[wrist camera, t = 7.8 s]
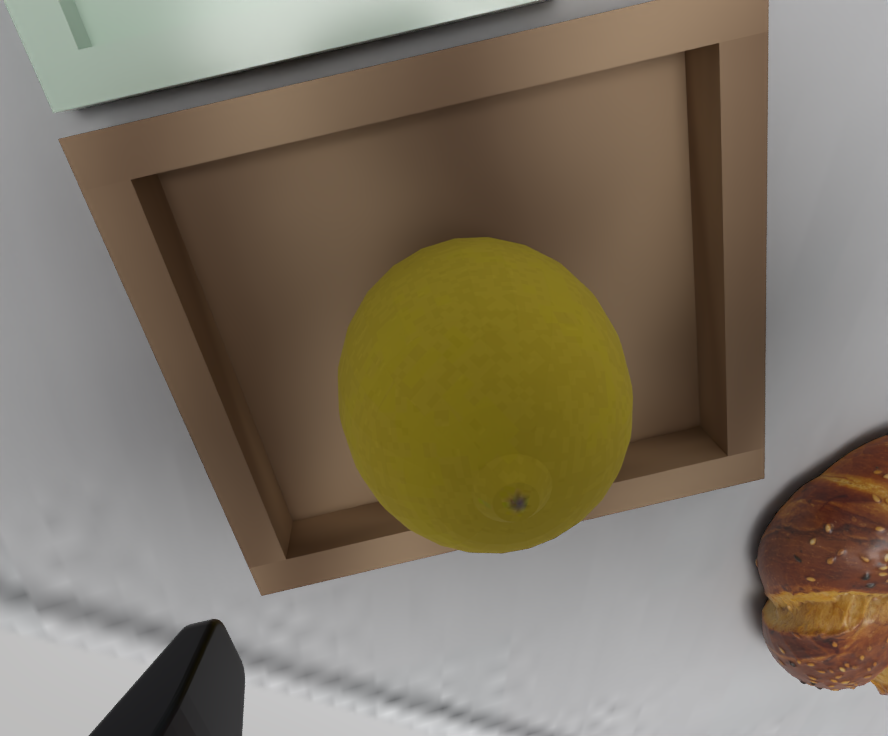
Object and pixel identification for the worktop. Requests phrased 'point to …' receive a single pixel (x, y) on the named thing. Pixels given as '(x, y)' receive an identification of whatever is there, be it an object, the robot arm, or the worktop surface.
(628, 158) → the tray
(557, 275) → the lemon
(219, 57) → the dish
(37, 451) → the worktop surface
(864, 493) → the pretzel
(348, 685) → the worktop surface
